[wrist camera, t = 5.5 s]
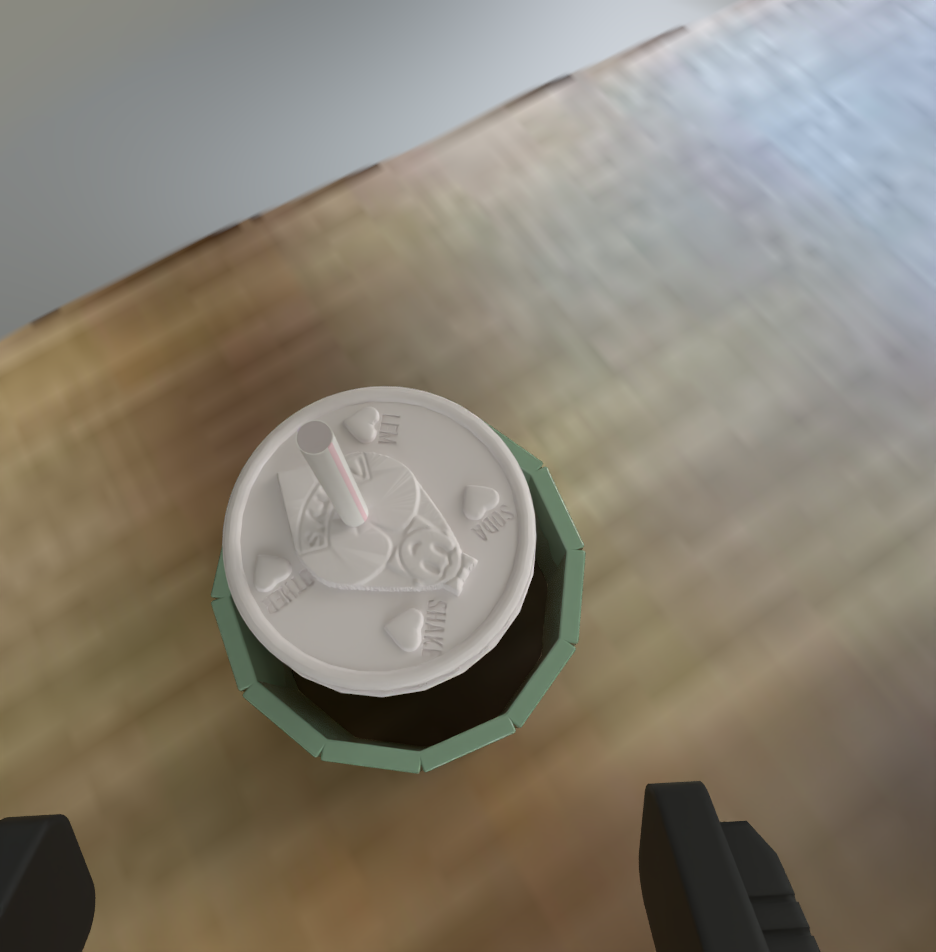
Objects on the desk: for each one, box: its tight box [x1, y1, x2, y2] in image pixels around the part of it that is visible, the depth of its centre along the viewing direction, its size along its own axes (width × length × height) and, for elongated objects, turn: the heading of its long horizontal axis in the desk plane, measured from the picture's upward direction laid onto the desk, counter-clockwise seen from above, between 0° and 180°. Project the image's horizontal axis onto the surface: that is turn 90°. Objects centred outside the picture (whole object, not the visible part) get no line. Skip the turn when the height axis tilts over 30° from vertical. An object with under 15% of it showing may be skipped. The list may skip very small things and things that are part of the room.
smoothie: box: [222, 386, 537, 697], centre depth 18 cm, size 6×6×14 cm
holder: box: [211, 419, 586, 774], centre depth 22 cm, size 9×9×5 cm
